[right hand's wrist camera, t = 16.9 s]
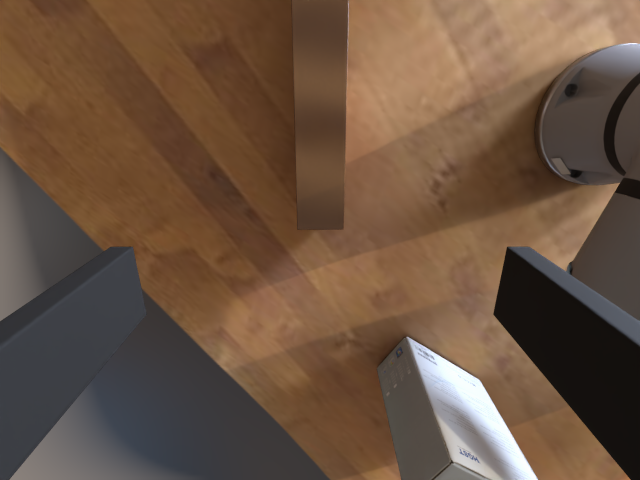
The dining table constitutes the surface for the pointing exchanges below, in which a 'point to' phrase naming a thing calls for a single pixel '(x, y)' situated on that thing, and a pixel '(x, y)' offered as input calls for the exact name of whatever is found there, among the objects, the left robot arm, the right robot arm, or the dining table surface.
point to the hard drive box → (445, 421)
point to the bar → (320, 110)
